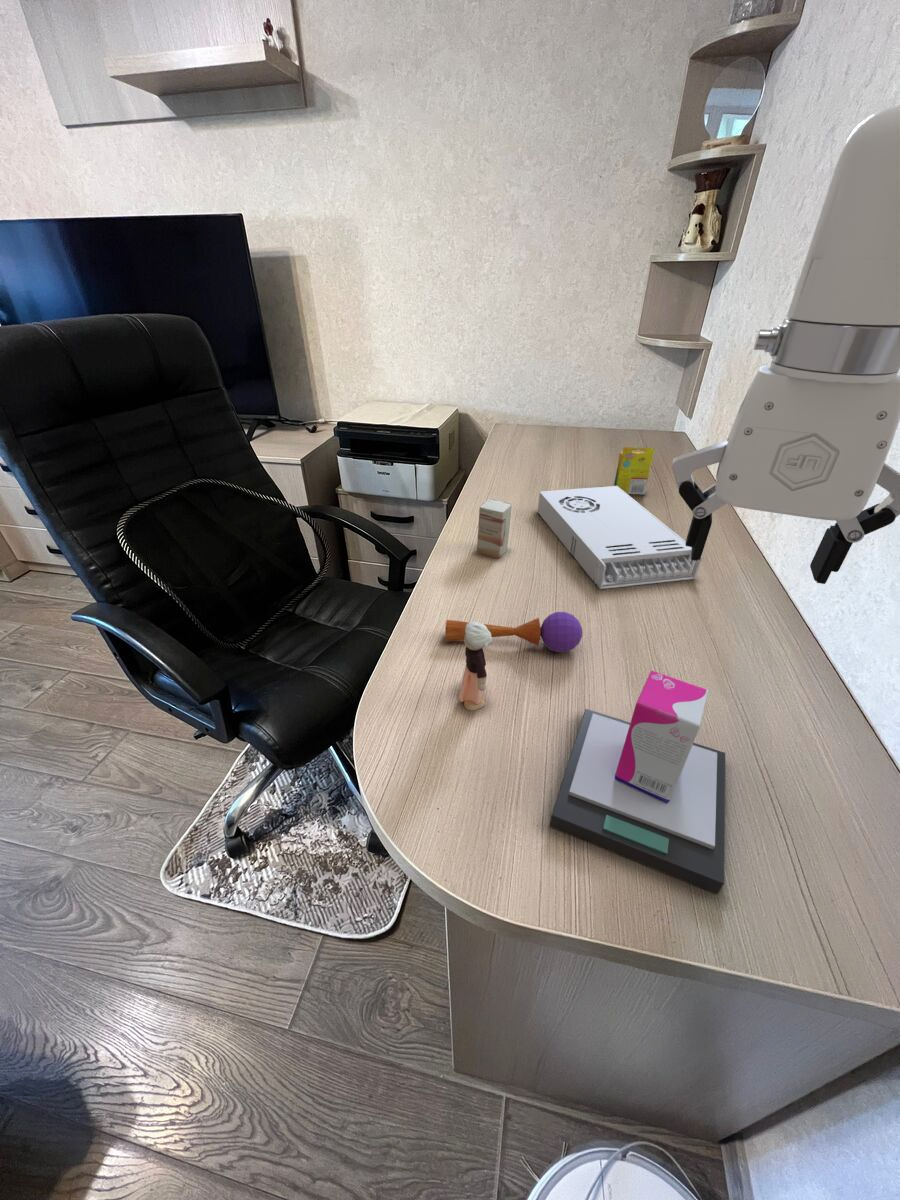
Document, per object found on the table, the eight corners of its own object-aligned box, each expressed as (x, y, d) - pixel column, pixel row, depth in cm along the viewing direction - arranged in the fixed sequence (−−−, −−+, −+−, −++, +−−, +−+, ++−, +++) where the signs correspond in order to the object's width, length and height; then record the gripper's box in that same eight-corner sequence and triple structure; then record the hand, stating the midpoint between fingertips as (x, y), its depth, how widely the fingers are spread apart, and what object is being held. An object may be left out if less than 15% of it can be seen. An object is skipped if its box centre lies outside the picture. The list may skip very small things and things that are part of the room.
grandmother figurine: (449, 685, 69) (449, 610, 61) (474, 678, 70) (478, 604, 63) (470, 725, 63) (473, 648, 56) (498, 717, 64) (504, 640, 57)
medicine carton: (475, 553, 99) (477, 506, 93) (485, 544, 102) (487, 497, 96) (500, 559, 97) (503, 511, 91) (508, 550, 100) (512, 503, 94)
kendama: (448, 604, 78) (580, 605, 75) (450, 638, 80) (578, 640, 77) (443, 621, 72) (585, 623, 69) (445, 657, 74) (583, 660, 72)
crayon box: (642, 490, 126) (653, 444, 119) (644, 495, 123) (656, 448, 117) (612, 489, 126) (621, 443, 120) (614, 493, 124) (623, 447, 117)
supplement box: (680, 764, 55) (712, 689, 49) (668, 805, 51) (701, 729, 44) (627, 741, 58) (651, 667, 51) (612, 779, 53) (635, 703, 47)
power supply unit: (599, 589, 88) (604, 565, 86) (537, 512, 115) (539, 491, 112) (695, 579, 91) (703, 555, 89) (613, 505, 118) (617, 485, 115)
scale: (720, 763, 58) (727, 749, 57) (717, 894, 46) (726, 880, 45) (583, 719, 64) (586, 704, 62) (549, 826, 52) (552, 811, 50)
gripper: (701, 351, 35) (647, 564, 44) (1024, 368, 29) (881, 609, 39) (703, 338, 40) (654, 530, 50) (973, 350, 35) (860, 564, 44)
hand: (753, 564), depth 44 cm, fingers open, 9 cm apart
